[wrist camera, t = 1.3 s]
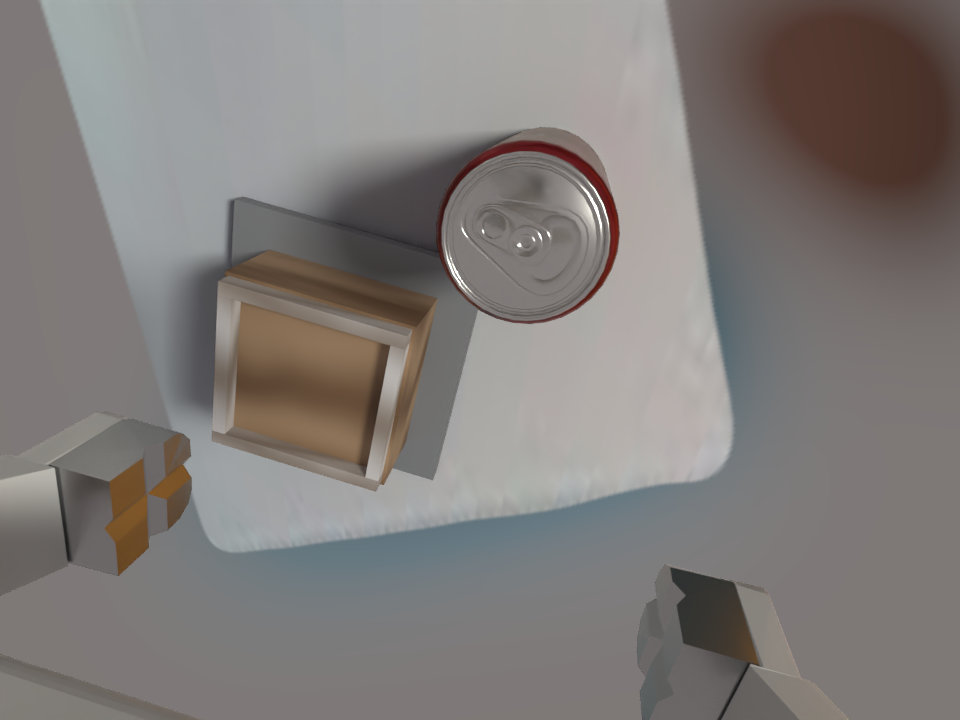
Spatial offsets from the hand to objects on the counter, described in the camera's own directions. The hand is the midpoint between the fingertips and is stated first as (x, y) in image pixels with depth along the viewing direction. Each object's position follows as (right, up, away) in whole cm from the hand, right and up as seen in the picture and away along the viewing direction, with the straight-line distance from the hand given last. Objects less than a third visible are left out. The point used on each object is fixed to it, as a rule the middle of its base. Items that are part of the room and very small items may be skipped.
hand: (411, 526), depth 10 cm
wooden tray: (-8, +4, +29) cm, 31 cm away
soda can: (+5, +12, +24) cm, 27 cm away
